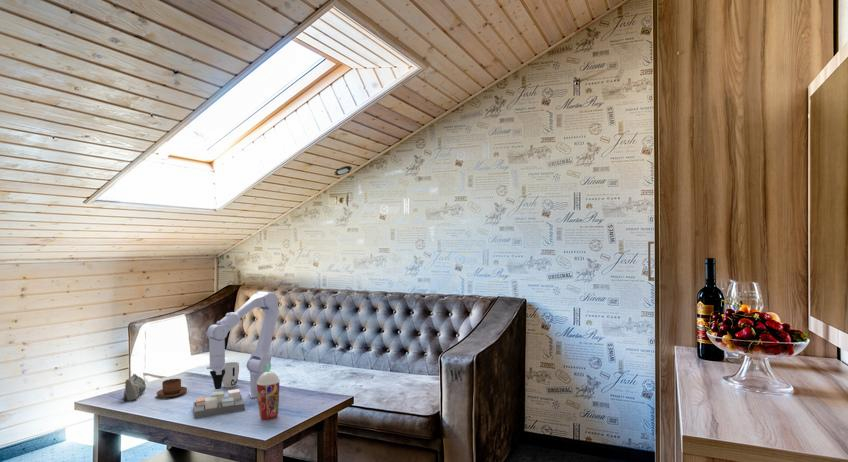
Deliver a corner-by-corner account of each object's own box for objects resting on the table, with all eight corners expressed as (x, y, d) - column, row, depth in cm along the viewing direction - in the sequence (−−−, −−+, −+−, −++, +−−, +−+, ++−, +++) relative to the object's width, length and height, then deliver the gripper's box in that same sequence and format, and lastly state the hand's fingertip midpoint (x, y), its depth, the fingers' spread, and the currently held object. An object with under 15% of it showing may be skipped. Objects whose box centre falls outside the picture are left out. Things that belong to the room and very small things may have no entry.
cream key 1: (216, 405, 200) (216, 396, 200) (217, 408, 197) (217, 399, 197) (205, 407, 198) (204, 398, 199) (205, 410, 195) (205, 401, 195)
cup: (233, 389, 228) (232, 366, 228) (216, 388, 229) (216, 366, 229) (243, 383, 236) (242, 362, 236) (227, 383, 237) (226, 361, 237)
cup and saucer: (157, 393, 225) (157, 379, 225) (187, 389, 230) (186, 375, 230) (155, 401, 214) (155, 386, 214) (187, 396, 219) (186, 382, 219)
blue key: (232, 406, 203) (232, 397, 203) (234, 409, 199) (233, 400, 199) (221, 408, 201) (221, 399, 201) (222, 411, 197) (222, 402, 197)
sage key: (223, 400, 207) (223, 391, 207) (224, 403, 203) (224, 394, 203) (212, 401, 205) (212, 392, 205) (213, 404, 201) (212, 395, 201)
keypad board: (241, 400, 211) (240, 394, 211) (244, 409, 200) (244, 403, 200) (193, 408, 203) (193, 402, 203) (194, 418, 192) (194, 411, 192)
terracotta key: (207, 405, 204) (207, 396, 204) (208, 409, 201) (207, 399, 201) (196, 407, 203) (195, 398, 203) (196, 410, 199) (196, 401, 199)
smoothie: (280, 420, 188) (279, 366, 188) (257, 423, 185) (255, 368, 186) (280, 412, 196) (279, 360, 196) (257, 415, 193) (256, 362, 194)
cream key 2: (239, 397, 210) (238, 388, 210) (240, 400, 206) (240, 391, 206) (228, 399, 208) (228, 390, 208) (229, 402, 204) (229, 393, 204)
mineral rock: (141, 390, 229) (141, 368, 229) (158, 393, 225) (157, 370, 225) (114, 399, 217) (113, 375, 217) (131, 402, 213) (130, 378, 213)
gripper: (205, 352, 209) (206, 385, 209) (207, 359, 196) (208, 395, 196) (223, 350, 212) (224, 382, 212) (227, 357, 199) (227, 392, 199)
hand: (217, 388), depth 204 cm, fingers closed
